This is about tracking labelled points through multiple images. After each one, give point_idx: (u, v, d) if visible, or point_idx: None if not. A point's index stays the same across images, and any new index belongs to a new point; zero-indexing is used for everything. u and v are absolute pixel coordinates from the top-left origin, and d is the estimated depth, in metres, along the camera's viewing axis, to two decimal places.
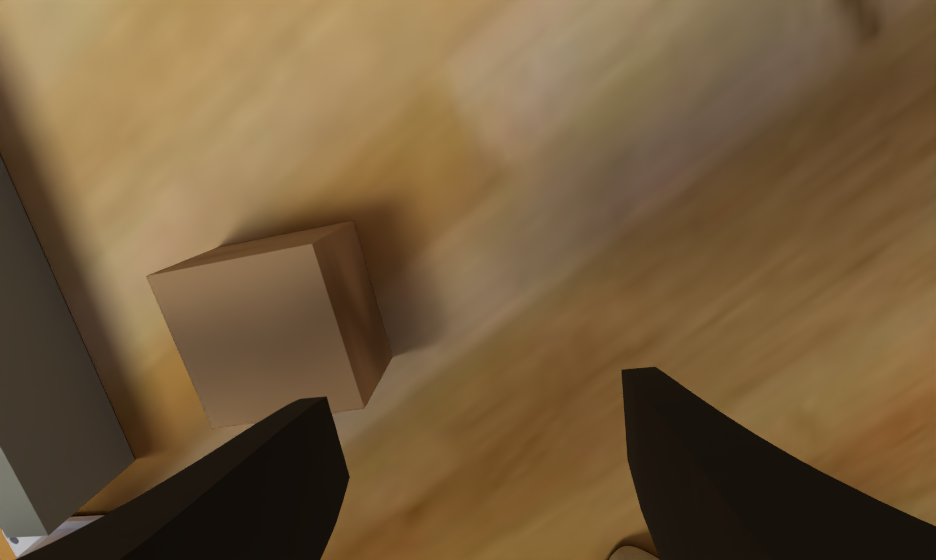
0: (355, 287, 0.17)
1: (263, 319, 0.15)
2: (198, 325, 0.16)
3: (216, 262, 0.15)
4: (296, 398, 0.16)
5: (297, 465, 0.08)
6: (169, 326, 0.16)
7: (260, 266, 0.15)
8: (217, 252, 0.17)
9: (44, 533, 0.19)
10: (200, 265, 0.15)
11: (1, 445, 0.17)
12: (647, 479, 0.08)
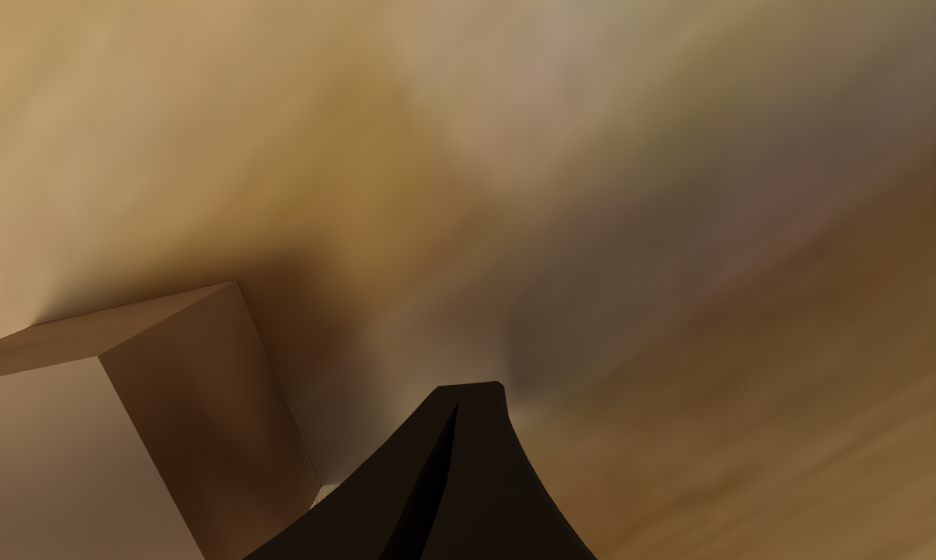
0: (235, 398, 0.10)
1: (36, 489, 0.08)
2: None
3: None
4: None
5: None
6: None
7: (10, 398, 0.08)
8: None
9: None
10: None
11: None
12: None
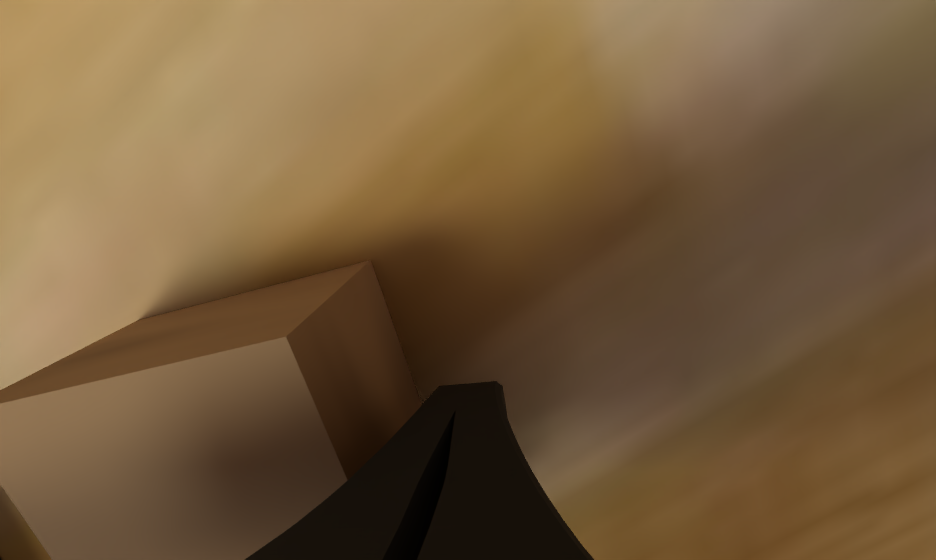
0: (384, 388, 0.09)
1: (199, 491, 0.07)
2: (73, 503, 0.08)
3: (88, 382, 0.07)
4: None
5: None
6: (18, 505, 0.08)
7: (179, 388, 0.07)
8: (124, 338, 0.09)
9: None
10: (54, 390, 0.07)
11: None
12: None
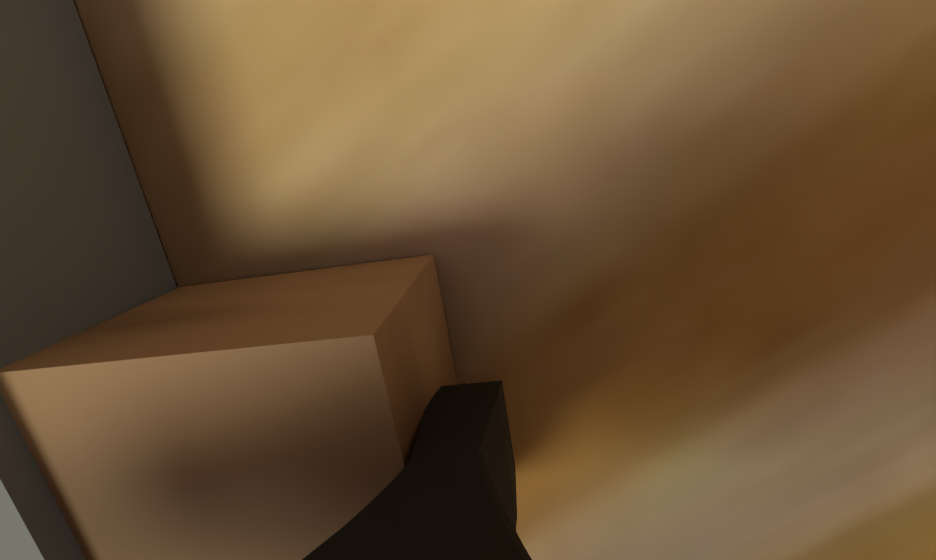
0: None
1: (247, 483, 0.07)
2: (106, 480, 0.07)
3: (145, 356, 0.07)
4: None
5: (499, 451, 0.08)
6: (46, 475, 0.07)
7: (245, 375, 0.06)
8: (167, 308, 0.09)
9: None
10: (108, 361, 0.07)
11: None
12: None
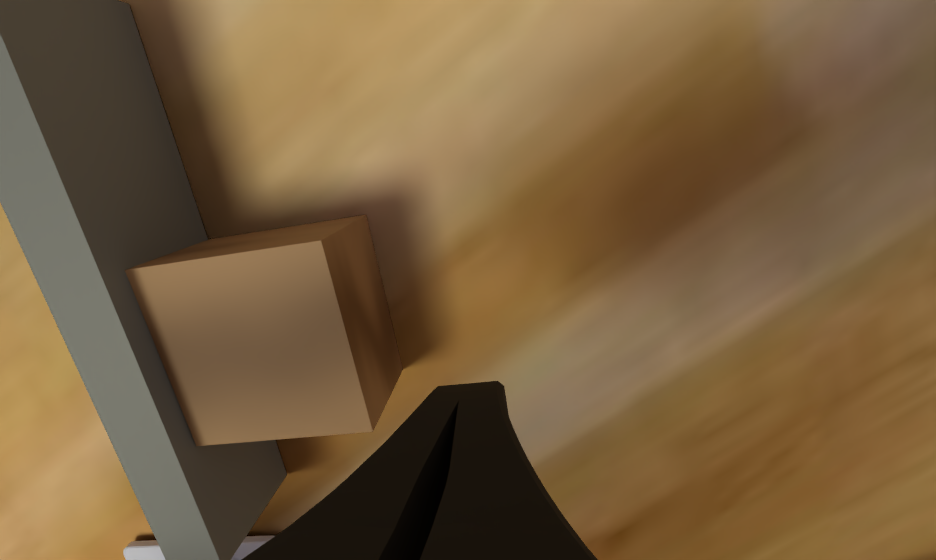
0: (367, 290, 0.15)
1: (260, 326, 0.13)
2: (184, 329, 0.14)
3: (207, 257, 0.13)
4: (294, 417, 0.14)
5: None
6: (150, 328, 0.14)
7: (259, 264, 0.13)
8: (209, 244, 0.15)
9: None
10: (188, 260, 0.13)
11: (181, 463, 0.14)
12: None
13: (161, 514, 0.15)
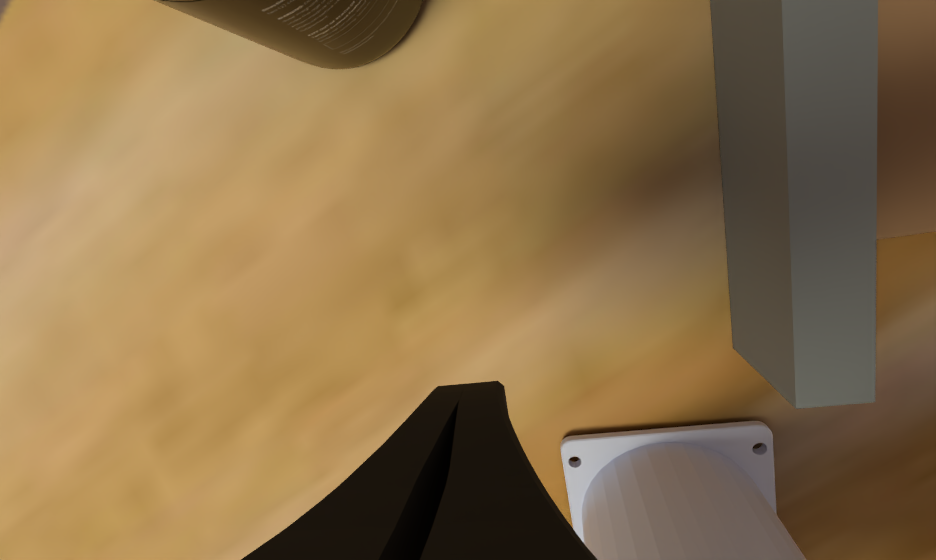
0: None
1: None
2: (911, 77, 0.12)
3: None
4: None
5: None
6: None
7: None
8: None
9: (859, 401, 0.13)
10: None
11: (875, 251, 0.12)
12: None
13: (817, 327, 0.13)
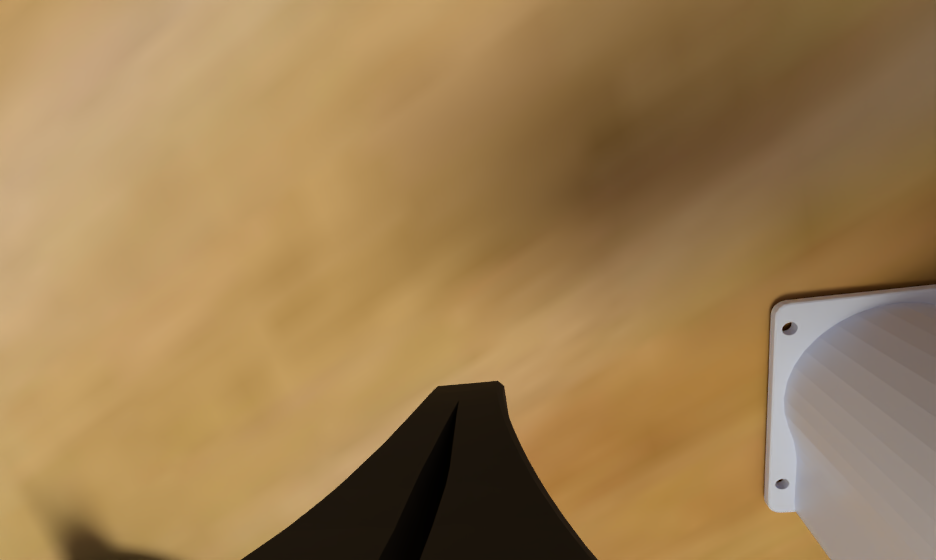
0: None
1: None
2: None
3: None
4: None
5: None
6: None
7: None
8: None
9: None
10: None
11: None
12: None
13: None
